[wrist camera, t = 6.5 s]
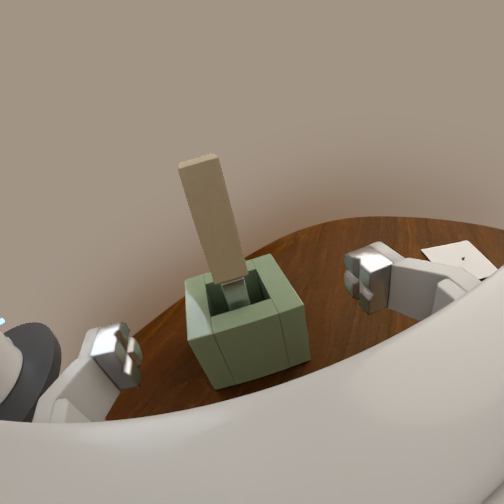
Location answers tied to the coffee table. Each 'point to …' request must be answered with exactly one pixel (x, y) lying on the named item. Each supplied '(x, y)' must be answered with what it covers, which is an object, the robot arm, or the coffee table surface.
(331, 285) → the coffee table surface
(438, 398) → the robot arm
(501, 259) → the coffee table surface
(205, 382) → the coffee table surface
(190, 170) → the knife
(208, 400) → the coffee table surface
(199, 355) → the holder
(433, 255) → the white flat sheet
